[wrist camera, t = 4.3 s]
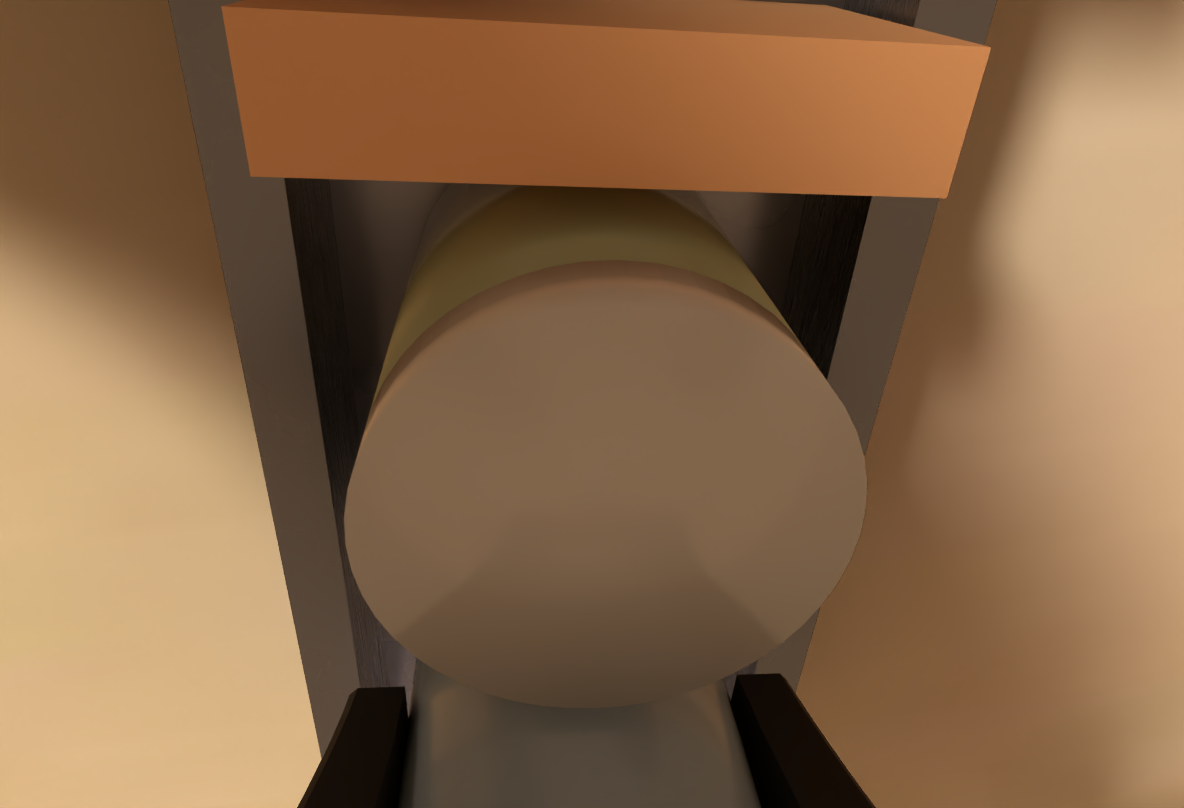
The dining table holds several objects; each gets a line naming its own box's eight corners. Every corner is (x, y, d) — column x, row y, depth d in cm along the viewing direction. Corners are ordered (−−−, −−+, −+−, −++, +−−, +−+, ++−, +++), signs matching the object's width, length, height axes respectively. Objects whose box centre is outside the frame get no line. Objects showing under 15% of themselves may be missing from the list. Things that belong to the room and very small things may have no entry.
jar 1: (736, 383, 12) (870, 655, 8) (466, 443, 12) (440, 745, 8) (700, 95, 10) (863, 238, 5) (368, 172, 10) (250, 380, 6)
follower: (805, 109, 10) (945, 197, 7) (340, 88, 9) (249, 177, 6) (825, 4, 9) (991, 46, 6) (328, -25, 9) (220, 5, 6)
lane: (734, 691, 17) (797, 909, 13) (356, 705, 16) (309, 942, 12) (1010, -508, 8) (1489, -924, 4) (149, -623, 7) (-290, -1285, 3)
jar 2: (714, 693, 13) (823, 1098, 9) (461, 740, 13) (437, 1168, 9) (687, 495, 11) (816, 905, 6) (382, 555, 11) (293, 1004, 6)
